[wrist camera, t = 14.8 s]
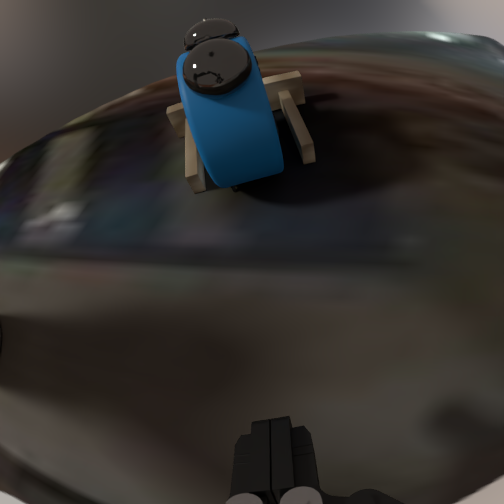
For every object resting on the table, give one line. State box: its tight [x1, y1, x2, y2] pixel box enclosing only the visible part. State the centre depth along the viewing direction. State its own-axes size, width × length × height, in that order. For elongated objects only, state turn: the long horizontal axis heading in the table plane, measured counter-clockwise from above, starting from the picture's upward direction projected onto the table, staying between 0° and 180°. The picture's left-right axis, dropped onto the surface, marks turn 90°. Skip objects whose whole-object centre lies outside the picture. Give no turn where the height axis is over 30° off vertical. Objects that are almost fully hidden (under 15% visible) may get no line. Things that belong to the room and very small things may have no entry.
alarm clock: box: [177, 18, 284, 192], centre depth 26 cm, size 13×6×15 cm, turn 9°
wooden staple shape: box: [167, 71, 316, 193], centre depth 32 cm, size 16×12×4 cm
